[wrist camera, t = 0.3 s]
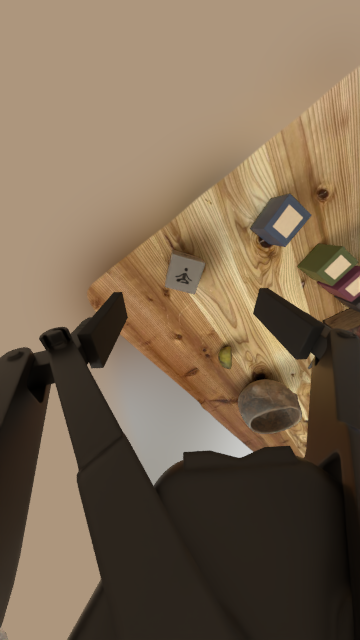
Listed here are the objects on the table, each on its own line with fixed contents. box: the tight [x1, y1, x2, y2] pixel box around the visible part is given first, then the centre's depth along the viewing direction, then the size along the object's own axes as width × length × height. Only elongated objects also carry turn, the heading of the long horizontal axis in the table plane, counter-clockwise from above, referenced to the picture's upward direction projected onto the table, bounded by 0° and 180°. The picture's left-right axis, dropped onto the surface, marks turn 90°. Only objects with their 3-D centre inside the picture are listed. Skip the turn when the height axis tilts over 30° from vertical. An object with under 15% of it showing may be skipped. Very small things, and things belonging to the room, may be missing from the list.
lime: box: [218, 346, 232, 369], centre depth 37 cm, size 4×5×5 cm
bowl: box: [238, 379, 302, 434], centre depth 43 cm, size 14×15×10 cm
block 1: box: [250, 194, 311, 247], centre depth 23 cm, size 4×4×5 cm
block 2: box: [297, 244, 358, 286], centre depth 26 cm, size 4×4×5 cm
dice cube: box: [165, 249, 206, 294], centre depth 26 cm, size 5×5×5 cm
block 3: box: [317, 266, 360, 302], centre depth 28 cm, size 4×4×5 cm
